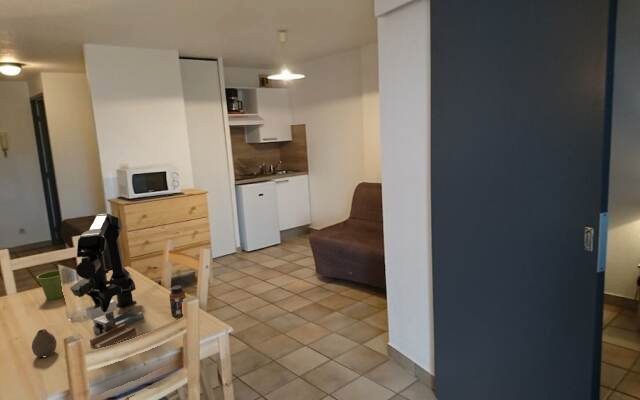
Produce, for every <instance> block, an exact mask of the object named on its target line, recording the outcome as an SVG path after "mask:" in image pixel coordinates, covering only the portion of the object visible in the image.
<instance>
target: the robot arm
mask: <svg viewBox="0 0 640 400" xmlns="http://www.w3.org/2000/svg"><path fill="white" fill-rule="evenodd" d="M122 228H123V224H122V221H121V219H120V218H119V217H118V216H114V215H112V214H111V213H107V212H106V213H98V214H95V216H94V221H93V223H92V224H91V226H90V227H89V230H86V231H85V232H82V233H81V234H80V236H79V238H78V239H77V250H76V258H81V259H80V262H79V263H78V264H77V265H76V269H75V271H76V274H77V276H79V277H80V278H82V279H80V280H79V281H77V282H75V283H74V284H73V285H71V286H70V288H69V290H70V291H71V293H72V294H73V295H74V297H76V296H77V297H78V298H82V297H85V295H87V296H89V297H90V299H91V300H92V302H93V304H94V305H97V304H99V303H101V306H102V309H103V312H107V310H108V307H109V304H110V302H111V299H112V300H113V297H115V296H116V306H117V308H121V309H125V308H127V307H129V306H132V305H134V304H136V303H137V301H135V300H133V294H132V292H133V291H135V290H136V284H135V281H134V280H133V278H132V277H131V274H130V271H128V270H127V269H126V268H125V265H124V260H123V254H122V249H121V245H120V239H119V236H120V234H121V232H122ZM106 246H107V251H108V257H109V261H110V267H111V271H112V274H111V276H110V278H109V280H108V278H107V274H108V273H109V269H107V268H106V264H105V258H104V257H105V256H104V252H106Z"/></svg>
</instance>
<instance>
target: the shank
mask: <svg viewBox="0 0 640 400" xmlns="http://www.w3.org/2000/svg"><path fill="white" fill-rule="evenodd" d="M116 304H117V300H116V299H115V300H114V299H113V298H112V299H111V302H110V304H109V307H108V310H107V312H103V309H102V306H101V303H99V304H97V305H95V304H94V305H92V306H88V307H86V308H85V313H86V318H87V319H88V320H91V321H93V319H96V318H98V317H101V316H103V317H104V316H105V315H106V314H108V313H110V312H113V313H114V312H115V311H118V307H117V306H116Z"/></svg>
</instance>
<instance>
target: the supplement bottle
mask: <svg viewBox="0 0 640 400" xmlns="http://www.w3.org/2000/svg"><path fill="white" fill-rule="evenodd" d="M182 287H183V286H181V285H174V286H172V287H171V292H170V293H169V302H170V303H169V304H170V312H171V316H172V317H181V316H183V315H182V302H183V299H184V298H186V291H184V290H183V288H182Z"/></svg>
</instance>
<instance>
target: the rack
mask: <svg viewBox="0 0 640 400" xmlns="http://www.w3.org/2000/svg"><path fill="white" fill-rule="evenodd" d="M136 334H137V329H136V327H135V326H134V327H133V326H132V327H131V328H128V327H127V326H126V324H122V325H120V326H118V327H116V328H114V329H112V330H109V331H107V332H105V333H103V334H101V335H97V336H95V337H92V338H90V339H89V345H90V347H92V346H93V348H94V349H97V348H102V347H106V346H109V345H112V344H114V345H116V344H117V343H116V342H118V341H120V340H122V341H124V340H125V338H126V339H128V338H130V337H132V336H134V335H136ZM123 339H124V340H123ZM120 342H121V341H120ZM115 343H116V344H115ZM118 343H119V342H118ZM112 346H113V345H112Z"/></svg>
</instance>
